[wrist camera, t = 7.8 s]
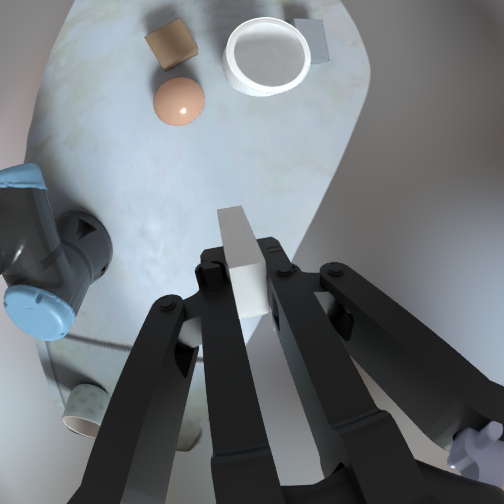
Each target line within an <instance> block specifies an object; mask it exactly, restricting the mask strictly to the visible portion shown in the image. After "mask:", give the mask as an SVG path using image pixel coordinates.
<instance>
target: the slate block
mask: <svg viewBox="0 0 504 504" xmlns="http://www.w3.org/2000/svg"><path fill="white" fill-rule="evenodd" d="M288 24H290V25H292V26H293V27H294V28H296V29H297V30H298V31H299V32H300V33H301V34H302V35H303V37H304V38H305V40H306V42H307V44H308V46H309V49H310V54H311V63H310V64H320V63H324V62H327V61H330V59H329V53H328V47H327V41H326V36H325V31H324V26H323V21H322V20H317V19H293V20H292V21H291V22H289V23H288Z"/></svg>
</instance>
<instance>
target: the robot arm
mask: <svg viewBox="0 0 504 504" xmlns="http://www.w3.org/2000/svg"><path fill="white" fill-rule="evenodd" d="M47 190H48V189H47V187H46V186H45V183H44V179H43V176H42V172H41V169H40V167H39V166H38V165H37V164H35V163H26V164H21V165H17V166H13V167H10V168H6V169H3V170H0V275H1V274H2V275H3V277H4V279H5V281H6V283H7V285H8V288H7V290H6V291H5V295H4V307H5V310H6V312H7V314H8V316H9V317H10V319H11V320H12V321H13V322H14V324H15V325H16V326H18V327H19V328H20V329H21V330H23V331H24V332H26V333H27V334H29V335H31V336H33V337H35V338H37V339H41V340H45V341H55V340H59V339H61V338H63V337H64V336H65V335H66V334H67V333H68V331H69V329H70V327H71V325H72V324H73V323H74V321H75V318H76V315H77V313H78V310H79V308H80V306H81V303H82V301H83V299H84V296H85V294H86V292H87V290H88V287H89V285H91V284H92V283H93V282H95V281H96V280H97V279H99V278H100V277H101V276H102V275H103V274H104V273H105V272H106V270H107V268H108V266H109V264H110V262H111V259H112V253H113V248H112V242H111V239H110V236H109V234H108V232H107V231H106V229H105V228H104V226H103V225H102V224H101V223H100V222H99V221H98V220H97V219H96V218H94V217H93V216H91V215H89V214H87V213H84V212H79V211H72V212H68V213H65V214H63V215H61V216H60V217H59V218H58V219H57V220H56V221H55V218H54V215H53V212H52V208H51V205H50V201H49V197H48V194H47ZM217 214H218V220H219V226H220V231H221V237H222V242H223V246H222V247H216V248H211V249H206V250H204V251H203V252H202V254H201V255H200V258H201V263H200V264H199V265H198V266H197V267H196V269H195V274H196V278H197V282H198V285H199V291H198V292H197V293H196V294H194V295H193V296H191V297H189V298H186V299H184V300H183V299H182V298H181V297H180V296H178V295H173V294H171V295H165V296H163V297H160V298H159V299H157V300H156V301H155V302H154V304H153V305H152V307H151V309H150V311H149V313H148V315H147V317H146V319H145V321H144V323H143V326H142V328H141V330H140V332H139V334H138V336H137V339H136V341H135V343H134V345H133V347H132V350H131V352H130V354H129V356H128V359H127V361H126V363H125V366H124V368H123V370H122V373H121V375H120V377H119V380H118V382H117V385H116V387H115V389H114V392H113V394H112V397H111V399H110V402H109V404H108V407H107V410H106V412H105V415H104V417H103V420H102V423H101V426H100V428H99V431H98V434H97V437H96V439H95V442H94V445H93V448H92V451H91V454H90V457H89V460H88V463H87V466H86V470H85V473H84V476H83V479H82V483H81V486H80V487H79V488H78V490H77V491H76V492H75V494H74V495H73V496H72V497H71V499H70V500H69V501H68V503H67V504H165V500H166V495H167V490H168V485H169V479H170V474H171V469H172V465H173V460H174V455H175V451H176V446H177V441H178V437H179V432H180V428H181V423H182V419H183V414H184V410H185V406H186V401H187V397H188V393H189V388H190V384H191V380H192V376H193V372H194V368H195V363H196V359H197V355H198V351H199V345H201V344H202V347H203V360H204V372H205V383H206V394H207V403H208V413H209V421H210V430H211V438H212V445H213V455H212V457H211V472H212V479H213V485H214V492H215V498H216V504H504V491H503V490H502V489H501V487H502V485H503V482H504V386H502V385H499V384H497V383H495V382H492V381H490V380H489V379H488V378H487V377H486V376H485V375H483V374H482V373H481V372H480V371H479V370H478V369H477V368H476V367H474V366H473V365H472V364H471V363H470V362H469V361H467V360H466V359H465V358H464V357H463V356H462V355H461V354H459V353H458V352H457V351H456V350H455V349H454V348H452V347H451V346H450V345H449V344H447V343H446V342H445V341H444V340H443V339H442V338H440V337H439V336H438V335H437V334H435V333H434V332H433V331H432V330H431V329H429V328H428V327H427V326H426V325H424V324H423V323H422V322H420V321H419V320H418V319H417V318H416V317H414V316H413V315H412V314H411V313H409V312H408V311H407V310H405V309H404V308H403V307H402V306H400V305H399V304H398V303H396V302H395V301H394V300H393V299H391V298H390V297H389V296H387V295H386V294H385V293H383V292H382V291H381V290H379V289H378V288H377V287H375V286H374V285H373V284H371V283H370V282H369V281H367V280H366V279H365V278H363V277H362V276H361V275H359V274H358V273H357V272H355V271H354V270H353V269H351V268H350V267H348V266H347V265H345V264H343V263H338V262H330V263H326V264H325V265H323V266H322V267H321V268H320V273H306V272H302V271H301V270H300V268H299V267H298V266H296V265H294V264H292V263H291V262H290V260H289V259H288V257H287V255H286V253H285V252H284V251H283V248H282V247H281V245H280V243H279V241H278V240H276V239H275V238H273V237H267V238H261V239H256V238H255V236H254V234H253V231H252V229H251V227H250V224H249V222H248V220H247V217H246V215H245V213H244V210H243V208H242V206H236V207H230V208H225V209H219V210H217ZM270 307H271V310H272V315H273V316H272V317H273V328H274V332H276V331H277V334H278V337H279V340H280V343H281V346H282V348H283V351H284V354H285V357H286V360H287V363H288V366H289V369H290V372H291V374H292V377H293V380H294V383H295V386H296V389H297V392H298V395H299V397H300V400H301V403H302V406H303V409H304V412H305V415H306V418H307V420H308V423H309V426H310V429H311V432H312V435H313V438H314V440H315V443H316V446H317V449H318V452H319V456H320V463H321V468H322V471H323V475H324V477H325V479H323V480H322V481H320V482H318V483H316V484H313V485H299V486H298V485H296V486H280V482H279V479H278V475H277V471H276V467H275V464H274V460H273V456H272V453H271V449H270V446H269V443H268V438H267V434H266V431H265V427H264V423H263V419H262V415H261V411H260V407H259V403H258V399H257V394H256V390H255V386H254V382H253V377H252V374H251V369H250V365H249V360H248V356H247V352H246V347H245V343H244V338H243V334H242V329H241V325H240V320H239V319H243V318H248V317H253V316H258V315H262V314H267V313H270ZM349 355H350V356H351V357H352V358H353V359H354V360H355V361H356V362H357V363H358V364H359V365H360V366H361V367H362V368H363V369H364V370H365V372H366V373H367V374H368V375H369V376H370V377H371V378H372V379H373V380H374V381H375V382H376V383H377V384H378V385H379V386H380V387H381V388H382V390H384V392H385V393H386V394H387V395H388V396H389V397H390V398H391V399H392V400H393V401H394V402H395V403H396V404H397V405H398V406H399V407H400V408H401V410H402V411H403V412H404V413H405V414H406V415H407V416H408V417H409V418H410V419H411V420H412V421H413V422H414V423H415V424H416V425H417V426H418V428H419V429H420V430H421V431H422V432H423V433H424V434H425V435H426V436H427V437H428V438H430V440H432V441H433V442H434V443H435V444H437V445H438V446H440V447H441V448H443V449H444V450H446V451H448V452H450V455H449V456H448V459H447V464H448V465H449V467H451V468H456V469H457V470H458V471H460V473H461V475H462V476H459V475H456V474H454V473H450V472H448V471H445V470H442V469H439V468H437V467H434V466H431V465H429V464H426V463H424V462H421V461H419V460H416V459H414V457H413V455H412V453H411V451H410V449H409V447H408V445H407V443H406V441H405V439H404V437H403V435H402V433H401V431H400V429H399V428H398V426H397V424H396V422H395V420H394V419H393V417H392V416H391V414H390V413H389V412H387V411H386V410H380V409H379V408H378V407H377V406H376V404H375V403H374V401H373V399H372V397H371V395H370V393H369V391H368V389H367V387H366V385H365V384H364V382H363V380H362V378H361V376H360V374H359V372H358V370H357V369H356V367H355V365H354V363H353V361H352V359H351V358H350V356H349Z"/></svg>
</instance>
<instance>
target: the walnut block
mask: <svg viewBox="0 0 504 504" xmlns="http://www.w3.org/2000/svg"><path fill="white" fill-rule="evenodd" d="M144 38H145V39H146V41H147V43H148V45H149V46H150V48H151V50H152V51H153V53H154V55H155V56H156V58H157V60H158V61H159V63H160V65H161V66H162V67H163V69H164V70H165V71H167V70H169V69H171V68H173V67H175V66H176V65H178V64H180V63H182V62H184V61H186V60H188V59H190V58H192V57H194V56H196V55H198V46H197V45H196V43H195V41H194V40H193V38H192V36H191V35H190V33H189V31H188V30H187V28H186V26H185V25H184V23H183V22H182V20H181V18H180V19H178V20H176V21H174V22H172V23H170V24H168V25H166V26H164V27H162V28H160V29H158V30H156V31H154V32H153V33H151V34H149V35H147V36H146V37H144Z"/></svg>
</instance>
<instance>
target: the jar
mask: <svg viewBox="0 0 504 504" xmlns="http://www.w3.org/2000/svg"><path fill="white" fill-rule="evenodd" d="M310 63H311V54H310V49H309V46H308V44H307V42H306V40H305V38H304V37H303V35H302V34H301V33H300V32H299V31H298V30H297V29H296V28H294V27H293V26H292V25H290V24H288V23H286V22H284V21H282V20H279V19H275V18H267V17H263V18H255V19H251V20H249V21H246V22H244V23H243V24H241V25H240V26H238V27H237V28H236V29H235V30H234V32H233V33H232V34H231V36H230V38H229V40H228V43H227V46H226V47H225V50H224V52H223V57H222V67H223V71H224V74H225V76H226V79H227V81H228V82H229V84H230V85H231V86H232V87H233V88H235V89H236V90H238V91H240V92H242V93H245V94H248V95H251V96H260V97H261V96H270V95H274V94H277V93H282V92H286V91H288V90H291V89H293V88H294V87H296V86H297V85H298V84H300V83H301V82H302V81H303V79H304V78H305V77H306V75H307V73H308V71H309V68H310Z"/></svg>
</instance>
